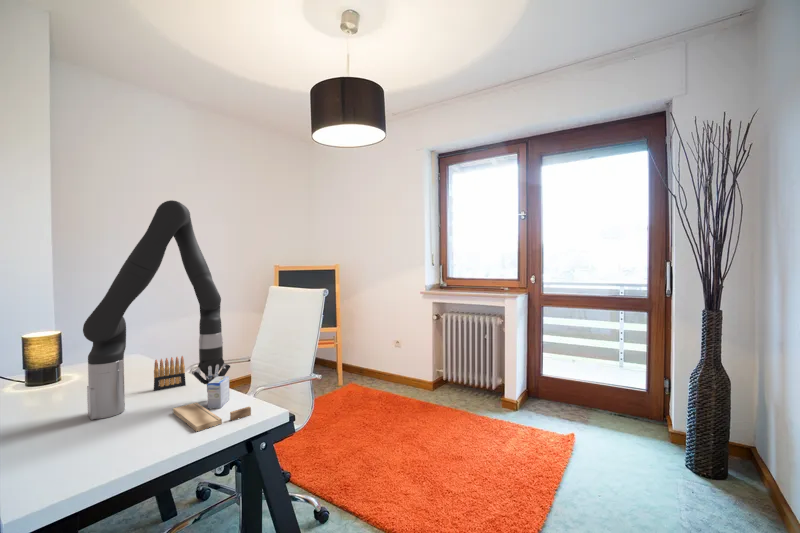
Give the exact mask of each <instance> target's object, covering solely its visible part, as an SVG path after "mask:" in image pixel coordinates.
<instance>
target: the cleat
mask: <svg viewBox="0 0 800 533" xmlns="http://www.w3.org/2000/svg"><path fill="white" fill-rule="evenodd" d="M248 416H252V408H251V406H246V407H243V408H240V409H236V410H233V411H229V418H230V421H231V420H233V421H236V420H238V418H240V419H242V417H243V418H245V417H248ZM235 419H236V420H235Z"/></svg>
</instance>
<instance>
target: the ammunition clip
mask: <svg viewBox="0 0 800 533" xmlns="http://www.w3.org/2000/svg"><path fill="white" fill-rule="evenodd" d="M179 360H180V361H179ZM174 363H175V364H174ZM153 366H154V370H153V392H156V391H162V390H168V389H174V388H180V387H184V386H185V387H186V385H187V384H186V370H185V367H186V366H185V359H184V356H183V355H181V358H180V359H179V357H178V356H176V357H175V362H174V357H172V356H171V358H170V362H169V358H168V357H166V358H165V361H163V359H162V358H160V360H159V362H158V359H156V358H155V361H154V365H153Z"/></svg>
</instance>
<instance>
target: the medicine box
mask: <svg viewBox="0 0 800 533" xmlns="http://www.w3.org/2000/svg"><path fill="white" fill-rule="evenodd" d="M206 392H207V409H208V408H216V409H221V408H222V407H223V406H224V405H226V404H227V402H228V401H230V376H227V375H225V376H218V377H216V378H214V379H213V380H212V381H210V382H209V383H208V384H206Z"/></svg>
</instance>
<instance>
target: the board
mask: <svg viewBox="0 0 800 533" xmlns="http://www.w3.org/2000/svg"><path fill="white" fill-rule="evenodd" d="M172 410H173V412H172V413H173V414H174V416H176V417H177V418H179V419H180V420H181V419H182V421H183V422H184V423H185V424H186V423H187V424H186V425H187V426H189V427H190V428H191V429H192V430H194V431H195V432H197V431H198V432H201V431H203V429H204V430H207V429H210V428H209V427H211V428H213V427H212V426H214V427H216V426H215V425H217V426H219V425H218V424H220V425H222V424H223V422H222V420H223V418H221V417H219V416H218V415H216V414H215V413H213V412H212V411H210V409H208V408H206V407H204V406H203V405H201V404H199V403H198V402H193V403H189V404H185V405H182V406H177V407H174V408H172ZM206 428H207V429H206ZM200 430H201V431H200ZM198 432H197V433H198Z"/></svg>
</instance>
